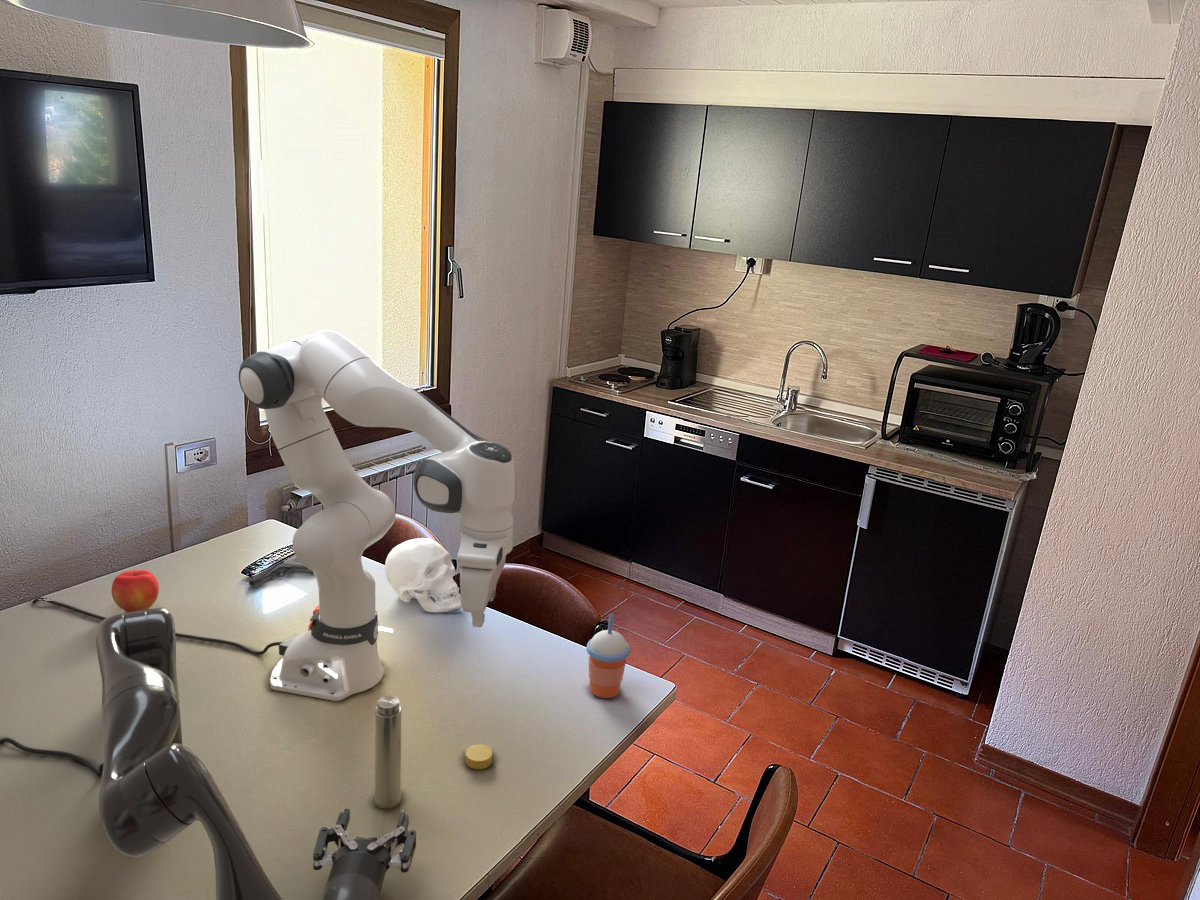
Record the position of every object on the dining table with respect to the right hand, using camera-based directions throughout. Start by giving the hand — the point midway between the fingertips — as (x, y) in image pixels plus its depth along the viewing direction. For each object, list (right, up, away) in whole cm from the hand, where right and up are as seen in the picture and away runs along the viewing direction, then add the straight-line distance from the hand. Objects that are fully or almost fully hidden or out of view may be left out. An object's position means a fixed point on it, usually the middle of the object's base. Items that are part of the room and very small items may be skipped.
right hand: (483, 611), depth 148 cm
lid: (-2, -28, +9) cm, 29 cm away
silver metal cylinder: (-16, -32, -3) cm, 35 cm away
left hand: (-15, -29, -15) cm, 36 cm away
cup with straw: (+21, -23, +34) cm, 46 cm away
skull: (-24, -10, +66) cm, 70 cm away
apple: (-87, -9, +50) cm, 101 cm away
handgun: (-61, -5, +73) cm, 95 cm away
